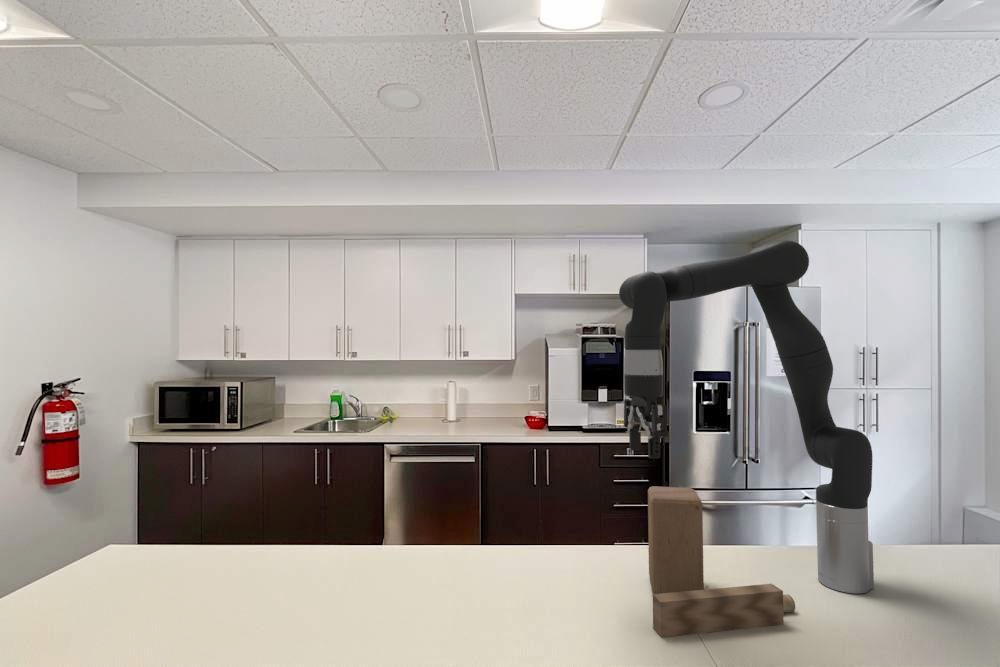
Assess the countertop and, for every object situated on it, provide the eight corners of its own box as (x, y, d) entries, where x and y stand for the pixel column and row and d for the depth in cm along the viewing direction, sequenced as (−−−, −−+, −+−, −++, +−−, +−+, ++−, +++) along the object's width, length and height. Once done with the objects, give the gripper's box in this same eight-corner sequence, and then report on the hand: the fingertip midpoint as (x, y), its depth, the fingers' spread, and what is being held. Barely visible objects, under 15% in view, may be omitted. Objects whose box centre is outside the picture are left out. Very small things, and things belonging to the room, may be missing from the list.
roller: (784, 607, 101) (783, 591, 101) (795, 614, 98) (795, 598, 98) (738, 612, 99) (737, 595, 99) (748, 619, 96) (747, 603, 96)
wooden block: (704, 601, 103) (703, 499, 103) (652, 596, 105) (651, 497, 105) (696, 579, 112) (694, 487, 113) (648, 575, 114) (647, 484, 115)
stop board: (772, 616, 97) (771, 583, 97) (783, 624, 94) (782, 590, 94) (653, 628, 93) (652, 594, 93) (661, 637, 90) (660, 602, 90)
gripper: (678, 373, 97) (680, 460, 97) (644, 371, 111) (645, 446, 111) (641, 374, 96) (642, 462, 95) (611, 371, 110) (612, 448, 109)
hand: (644, 453), depth 103 cm, fingers open, 8 cm apart
